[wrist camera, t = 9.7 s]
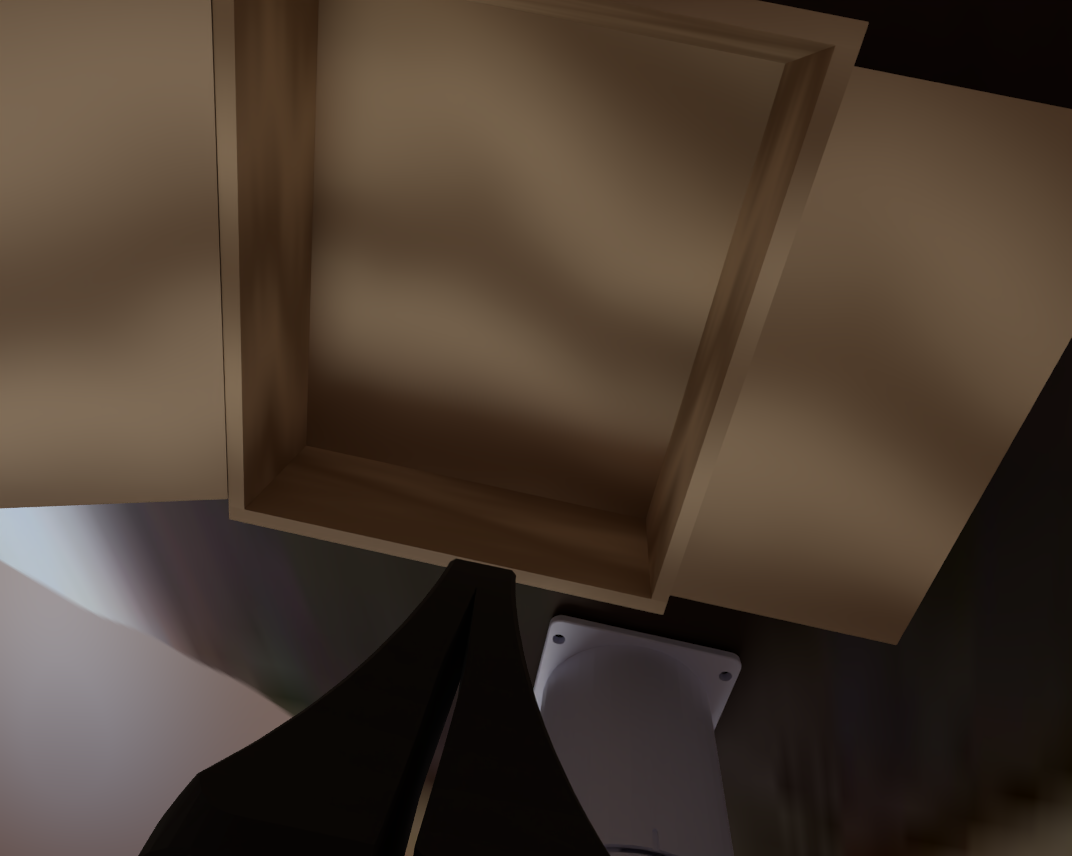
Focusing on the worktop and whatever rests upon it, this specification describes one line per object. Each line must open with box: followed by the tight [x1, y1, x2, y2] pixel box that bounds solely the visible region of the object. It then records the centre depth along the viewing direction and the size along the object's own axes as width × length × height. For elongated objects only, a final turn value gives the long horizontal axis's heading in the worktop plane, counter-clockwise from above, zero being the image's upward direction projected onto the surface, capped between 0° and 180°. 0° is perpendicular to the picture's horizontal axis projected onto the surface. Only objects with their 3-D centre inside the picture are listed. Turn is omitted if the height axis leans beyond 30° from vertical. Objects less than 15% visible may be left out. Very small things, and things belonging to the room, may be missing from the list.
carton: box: [212, 0, 1072, 645], centre depth 19 cm, size 16×21×5 cm
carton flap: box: [0, 0, 228, 508], centre depth 16 cm, size 14×7×1 cm, turn 170°
